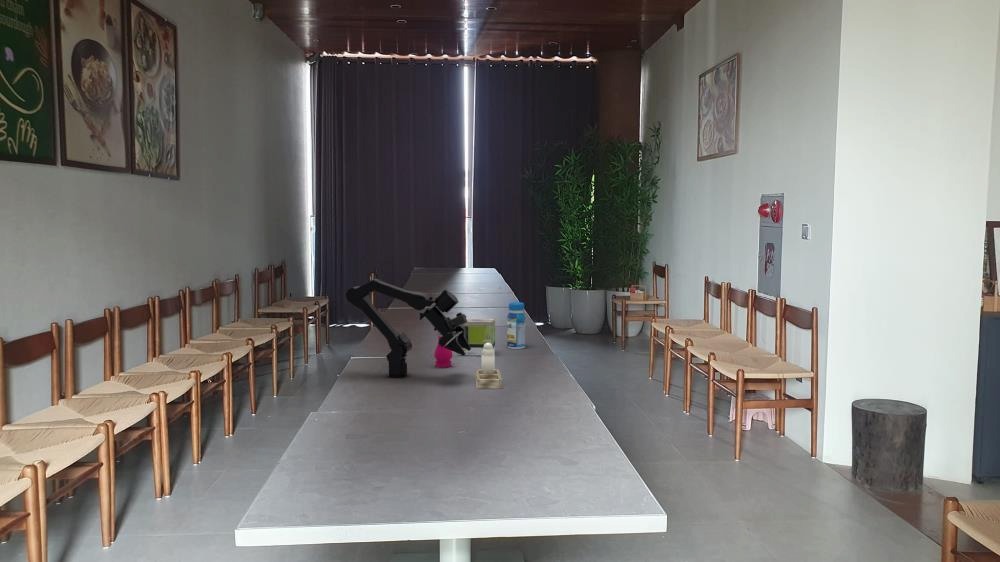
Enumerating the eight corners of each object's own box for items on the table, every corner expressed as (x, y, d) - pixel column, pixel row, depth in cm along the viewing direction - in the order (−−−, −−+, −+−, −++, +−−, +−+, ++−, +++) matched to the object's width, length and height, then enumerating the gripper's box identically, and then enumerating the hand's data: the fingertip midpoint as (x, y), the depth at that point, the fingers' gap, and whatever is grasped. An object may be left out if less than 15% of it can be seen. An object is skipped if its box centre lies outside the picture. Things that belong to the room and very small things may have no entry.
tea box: (495, 351, 326) (495, 318, 324) (492, 356, 316) (493, 322, 314) (461, 350, 327) (461, 317, 326) (457, 355, 317) (457, 321, 316)
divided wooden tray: (476, 388, 262) (476, 380, 262) (475, 377, 279) (475, 369, 279) (502, 388, 263) (502, 380, 263) (499, 376, 280) (499, 369, 280)
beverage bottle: (525, 349, 331) (526, 304, 329) (506, 349, 332) (506, 304, 329) (525, 345, 340) (525, 301, 338) (506, 345, 340) (507, 301, 338)
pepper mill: (453, 364, 301) (453, 314, 299) (450, 368, 294) (450, 317, 292) (436, 363, 302) (436, 314, 300) (432, 367, 295) (432, 317, 292)
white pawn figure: (479, 378, 273) (480, 343, 272) (483, 375, 278) (483, 341, 276) (492, 379, 272) (493, 344, 271) (495, 376, 277) (496, 341, 275)
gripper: (448, 310, 265) (477, 342, 264) (460, 302, 283) (488, 333, 283) (426, 330, 267) (455, 363, 267) (439, 322, 285) (467, 352, 285)
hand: (467, 352), depth 275 cm, fingers open, 9 cm apart
